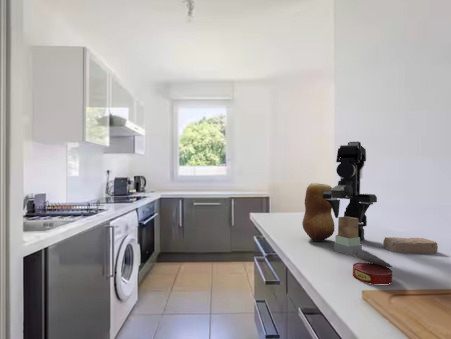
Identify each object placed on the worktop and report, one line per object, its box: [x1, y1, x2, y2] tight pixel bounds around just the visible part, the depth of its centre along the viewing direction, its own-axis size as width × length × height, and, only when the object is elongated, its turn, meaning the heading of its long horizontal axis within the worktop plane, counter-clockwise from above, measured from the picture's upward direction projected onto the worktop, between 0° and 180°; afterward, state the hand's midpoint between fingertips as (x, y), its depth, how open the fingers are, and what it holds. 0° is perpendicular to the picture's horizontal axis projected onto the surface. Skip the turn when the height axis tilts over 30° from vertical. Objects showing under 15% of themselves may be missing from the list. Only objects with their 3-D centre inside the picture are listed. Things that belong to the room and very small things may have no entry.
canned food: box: [352, 248, 393, 285], centre depth 79 cm, size 11×10×10 cm
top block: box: [334, 234, 361, 247], centre depth 106 cm, size 6×6×3 cm
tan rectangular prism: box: [337, 216, 359, 238], centre depth 106 cm, size 5×5×7 cm
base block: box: [333, 243, 363, 256], centre depth 106 cm, size 7×7×3 cm
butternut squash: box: [301, 182, 335, 242], centre depth 123 cm, size 14×13×25 cm
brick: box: [382, 236, 439, 254], centre depth 110 cm, size 17×8×5 cm, turn 86°
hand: (347, 219), depth 106 cm, fingers open, 9 cm apart
